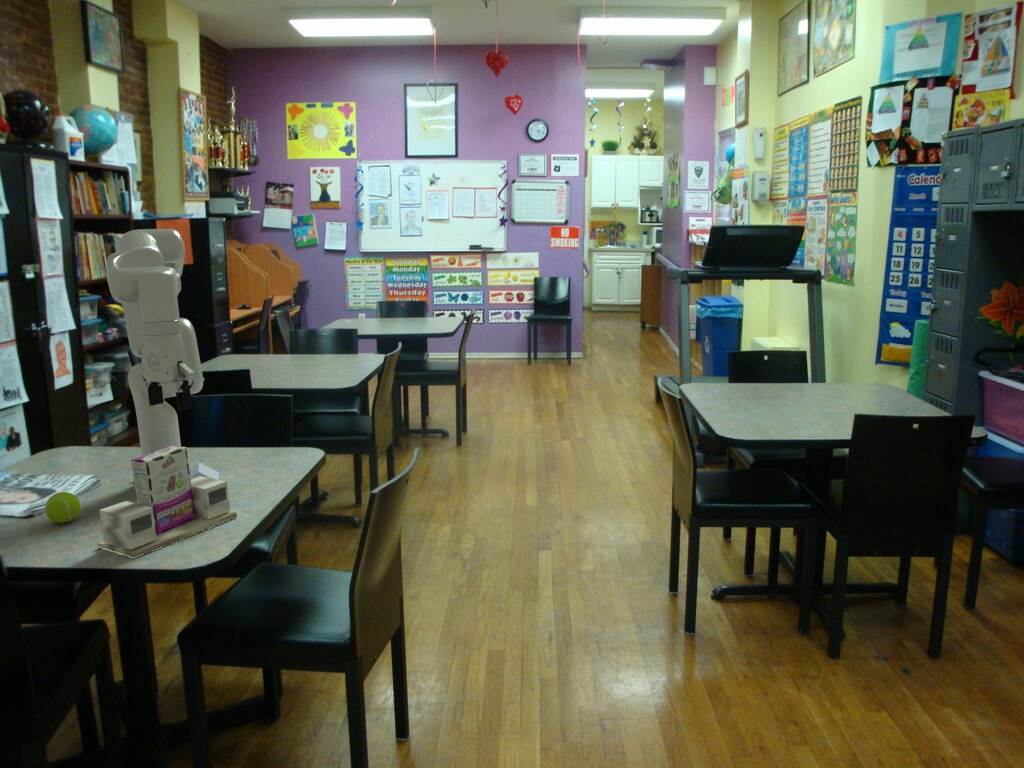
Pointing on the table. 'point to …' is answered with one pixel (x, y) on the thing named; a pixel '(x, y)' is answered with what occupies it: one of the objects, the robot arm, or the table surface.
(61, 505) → the tennis ball
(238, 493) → the table surface
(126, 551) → the rail board
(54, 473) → the table surface
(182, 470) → the candy bar box
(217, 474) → the white angular piece
